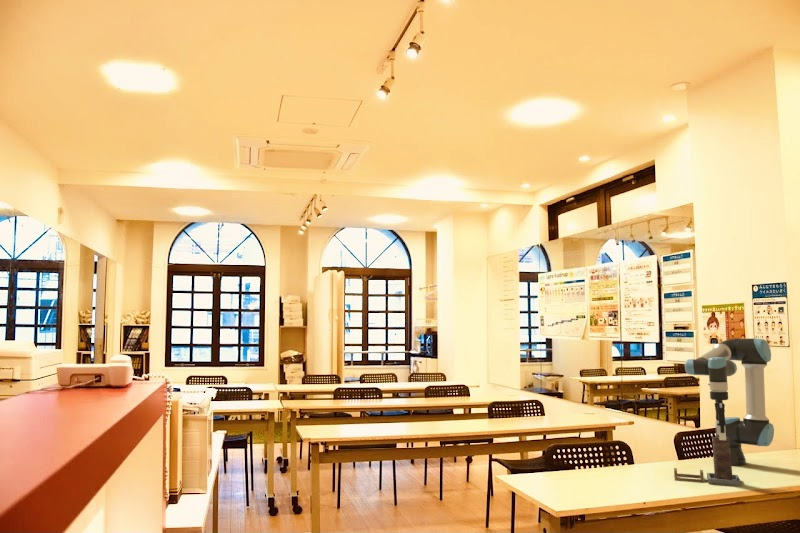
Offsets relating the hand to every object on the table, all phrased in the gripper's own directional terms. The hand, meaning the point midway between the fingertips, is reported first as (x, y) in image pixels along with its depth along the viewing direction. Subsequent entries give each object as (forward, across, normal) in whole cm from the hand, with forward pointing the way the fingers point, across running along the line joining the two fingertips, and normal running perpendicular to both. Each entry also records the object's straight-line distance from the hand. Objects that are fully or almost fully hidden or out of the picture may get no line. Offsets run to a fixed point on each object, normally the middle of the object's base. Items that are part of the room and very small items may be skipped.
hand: (721, 437), depth 296 cm
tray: (+20, +1, 0) cm, 20 cm away
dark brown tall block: (+20, +1, 0) cm, 20 cm away
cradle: (+20, 0, -15) cm, 25 cm away
